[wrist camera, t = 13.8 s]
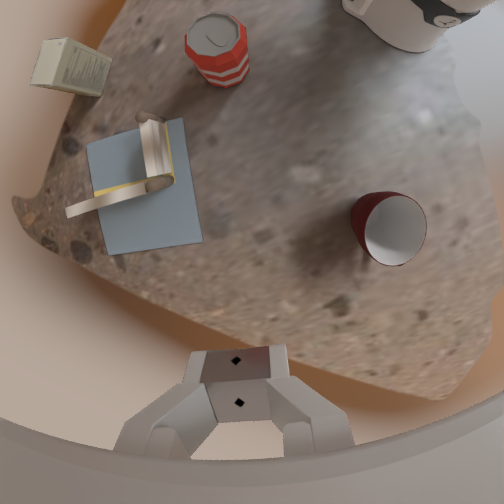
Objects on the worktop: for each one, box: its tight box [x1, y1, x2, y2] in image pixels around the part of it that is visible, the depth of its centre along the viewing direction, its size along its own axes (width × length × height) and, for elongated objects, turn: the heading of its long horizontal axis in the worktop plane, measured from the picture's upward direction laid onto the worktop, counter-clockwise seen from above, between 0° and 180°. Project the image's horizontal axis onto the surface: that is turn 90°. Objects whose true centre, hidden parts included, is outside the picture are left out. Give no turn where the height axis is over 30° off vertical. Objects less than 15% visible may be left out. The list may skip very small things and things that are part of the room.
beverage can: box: [185, 12, 250, 88], centre depth 27 cm, size 6×6×12 cm
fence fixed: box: [135, 110, 174, 192], centre depth 33 cm, size 9×1×7 cm, turn 8°
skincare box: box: [30, 37, 112, 97], centre depth 27 cm, size 6×4×12 cm
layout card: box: [86, 118, 203, 256], centre depth 38 cm, size 17×15×1 cm
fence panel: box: [65, 181, 149, 218], centre depth 35 cm, size 12×1×6 cm, turn 102°
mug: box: [351, 191, 427, 266], centre depth 34 cm, size 10×8×10 cm
